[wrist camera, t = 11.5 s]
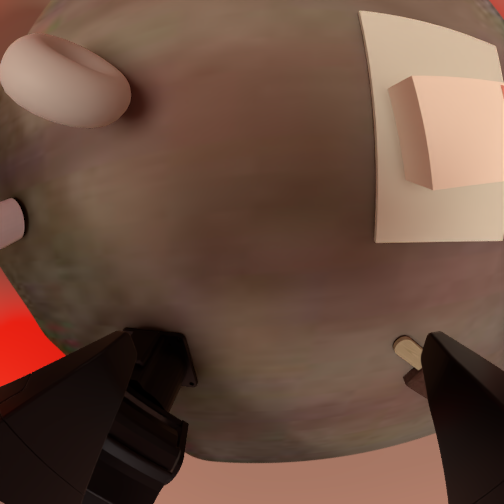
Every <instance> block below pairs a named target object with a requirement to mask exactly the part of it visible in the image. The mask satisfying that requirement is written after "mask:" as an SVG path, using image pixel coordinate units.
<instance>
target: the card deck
mask: <svg viewBox="0 0 504 504" xmlns="http://www.w3.org/2000/svg"><path fill="white" fill-rule="evenodd" d="M388 92H389V96H390V100H391V104H392V108H393V112H394V117H395V121H396V126H397V131H398V136H399V141H400V147H401V152H402V159H403V165H404V172H405V179H406V180H407V181H410V182H412V183H415V184H418V185H420V186H423V187H425V188H428V189H431V190H440V189H447V188H455V187H462V186H470V185H477V184H486V183H494V182H502V181H504V83H503V82H496V81H489V80H482V79H473V78H462V77H448V76H410V77H408V78H406V79H404V80H402V81H401V82H399V83H397V84H395V85H393V86H391V87H390V88H388Z"/></svg>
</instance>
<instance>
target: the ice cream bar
mask: <svg viewBox="0 0 504 504" xmlns="http://www.w3.org/2000/svg"><path fill="white" fill-rule="evenodd" d="M393 348H394V351H395V353H396V354H397V355H399V356H400V357H401V358H403V359H404V360H405V361H407V362H408V363H409V364H411V365H412V366H413V367H414V368H413V369H412V370H410V371H409V372H408V373H407V374H406V375H405V376H404V377H403V378H404V381H405V384H406V385H407V386H408V387H410V388H411V389H413V390H414V391H416V392H417V393H419V394H420V395H422V396H423V397H425V398H427V392H426V386H425V381H424V375H423V370H422V365H421V353H422V350H423V349H422V348H421V347H420V346H419V345H418V344H417V343H415V342H414V341H413V340H412V339H411V338H409V337H407V336H404V337H401V338H399V339H398V340H396V342H395V343H394V346H393ZM427 399H428V398H427Z"/></svg>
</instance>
